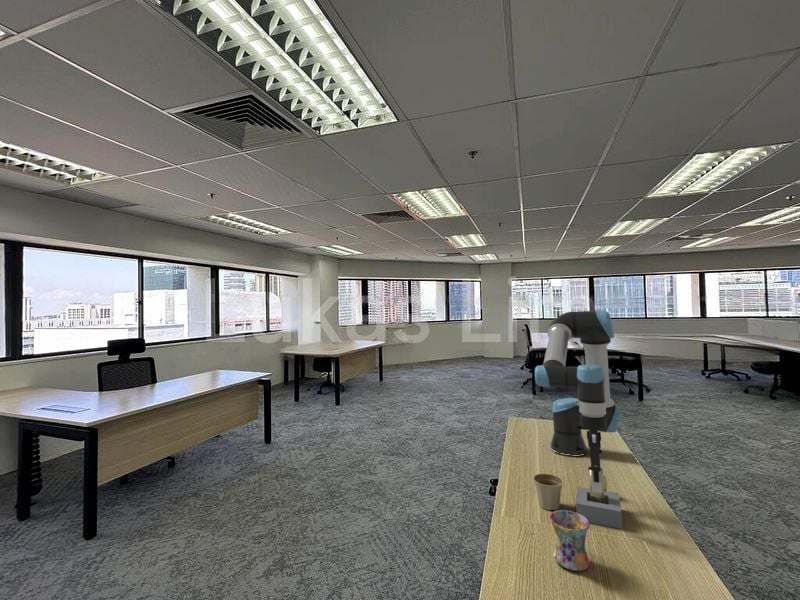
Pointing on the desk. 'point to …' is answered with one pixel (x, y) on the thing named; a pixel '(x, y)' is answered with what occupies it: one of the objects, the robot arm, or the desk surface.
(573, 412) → the robot arm
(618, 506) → the slate block
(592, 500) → the long pin
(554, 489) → the flower pot
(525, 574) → the desk surface
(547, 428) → the desk surface
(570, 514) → the mug
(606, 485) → the short pin
